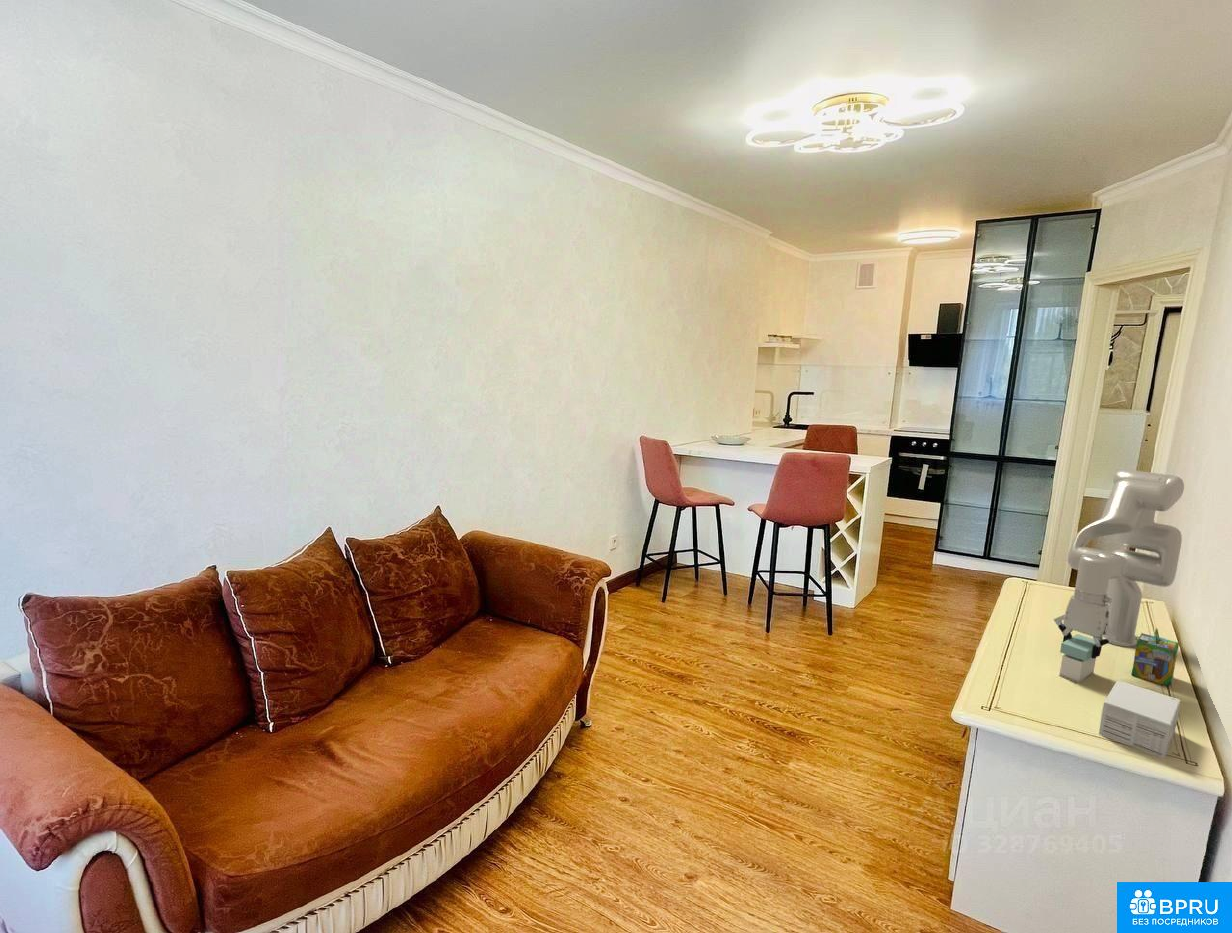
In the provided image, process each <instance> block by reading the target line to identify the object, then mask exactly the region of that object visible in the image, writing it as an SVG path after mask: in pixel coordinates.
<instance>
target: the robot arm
mask: <svg viewBox="0 0 1232 933" xmlns="http://www.w3.org/2000/svg"><path fill="white" fill-rule="evenodd" d="M1112 478H1113V479H1112V480H1113V482H1112V483H1113V486H1112V488H1111V491H1110V493H1109V496H1108V498H1107V502H1106V504H1105V507H1104V510H1103V512H1102V514H1101V516H1100V519H1097V520H1095V521H1092V522H1090V523H1088V524H1087V525H1086V526H1084V527H1083V528H1082V529H1080V530H1079V531H1078V532H1077V534H1076V535H1075V536H1074V539H1073V541H1072V544H1071V546H1070V548H1069V551H1068V555H1067V558H1066V559H1067V564H1068V565H1069V567H1070V568H1071V569H1073V570H1076V571H1077V575H1076V579H1075V580H1076V581H1075V588H1074V593H1073V595H1071V597H1070V599H1069V600H1068V603H1067V606H1066V610H1065V613H1064V614H1063V615H1061V616H1058V617H1056V618H1054V619H1053V622H1054V623H1055V624H1056V626H1058V629H1059V630H1060V632H1061V633H1062V636H1063V639H1062V642H1064V641H1066V640H1068V639H1070V638H1072V637H1073V635H1072V632H1073V631H1075V632H1077V633H1081V634H1084V635H1087V636H1091V637H1092V639H1094V642H1095V645H1094V646H1093V651H1092V658H1093V659H1094V658H1096V659H1097V658H1098V657H1100V656H1101V652H1102V648H1101V647H1103V646H1105V645H1108V644H1111V645H1116V646H1118V647H1119V646H1120V647H1124V648H1125V647H1126V648H1134V647H1135V648H1136V644H1137V640H1138V639H1139V638H1138V637H1136V630H1137V624H1138V619H1139V614H1140V610H1141V604H1142V597H1143V594H1142V590H1141V587H1140V586H1139V585H1138V583H1137V582H1140V583H1144V584H1148V585H1151V586H1156V587H1162V588H1165V587H1171V585H1172V584H1173V583H1174V581H1175V579H1176V575H1177V570H1178V562H1179V559H1180V553H1181V548H1182V541H1183V540H1182V539H1183V538H1182V536H1183V535H1182V533H1181V531H1180V530H1179V529H1178V528H1177V527H1176V526H1173V525H1167V524H1163V523H1157V522H1155V516H1156V512H1166V511H1168V510H1170V509H1171V508H1172V507H1173V506H1174V505H1175V504H1176V503H1177V502H1178V501H1179V500H1180V499H1181V497H1182V495H1183V493H1184V489H1185V484H1184V481H1183V479H1182V478H1180V477H1179V476H1175V475H1172V474H1164V473H1157V472H1149V471H1142V470H1134V469H1131V470H1130V469H1122V470H1118V471H1116V472H1115V473H1114V475H1113V477H1112ZM1113 535H1117V540H1118V543H1119V544H1120V545H1122V546H1125V547H1128V548H1132V549H1137V550H1142V551H1147V552H1152V553H1156V554H1157V555H1158V556H1157V555H1153V554H1148V553H1145V552H1144V553H1142V552H1139V551H1134V550H1129V549H1115V550H1112V551H1111V552H1110V551H1105V550H1101V549H1098V548H1097V549H1096V548H1092V547H1087V546H1086V545H1087V544H1088V543H1089V542H1091V541H1092V540H1094V539H1097V538H1100V537H1105V536H1113Z"/></svg>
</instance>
